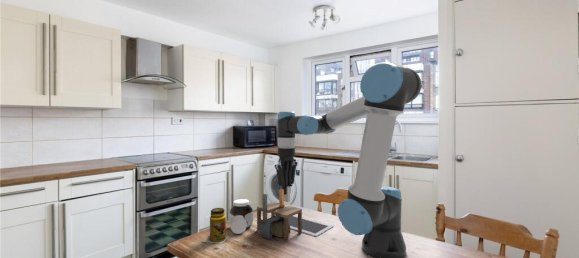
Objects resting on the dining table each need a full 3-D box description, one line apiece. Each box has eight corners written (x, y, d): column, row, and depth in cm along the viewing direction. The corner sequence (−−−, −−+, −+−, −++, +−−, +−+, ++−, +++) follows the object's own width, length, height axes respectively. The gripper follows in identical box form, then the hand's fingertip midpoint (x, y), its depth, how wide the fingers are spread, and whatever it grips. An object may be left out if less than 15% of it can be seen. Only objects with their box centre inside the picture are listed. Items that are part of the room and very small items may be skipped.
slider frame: (287, 230, 115) (287, 190, 114) (269, 239, 106) (269, 195, 106) (277, 226, 118) (277, 188, 118) (258, 235, 110) (258, 193, 109)
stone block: (282, 239, 108) (282, 227, 108) (261, 232, 115) (261, 220, 115) (291, 234, 112) (291, 222, 112) (270, 228, 119) (270, 216, 119)
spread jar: (248, 222, 126) (247, 197, 126) (259, 230, 117) (259, 203, 117) (223, 227, 120) (222, 201, 119) (233, 236, 110) (233, 208, 110)
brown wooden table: (301, 233, 114) (301, 208, 113) (286, 241, 106) (286, 215, 106) (273, 223, 124) (272, 201, 124) (257, 230, 116) (257, 207, 116)
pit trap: (333, 226, 120) (333, 225, 120) (316, 236, 110) (316, 235, 110) (288, 214, 137) (288, 213, 137) (269, 221, 126) (269, 221, 126)
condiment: (222, 243, 104) (222, 212, 104) (201, 242, 105) (201, 211, 105) (229, 235, 111) (229, 206, 111) (210, 234, 112) (209, 205, 112)
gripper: (289, 145, 125) (289, 196, 126) (269, 147, 115) (269, 203, 116) (302, 146, 120) (302, 199, 121) (282, 149, 110) (283, 206, 111)
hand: (286, 201), depth 118 cm, fingers closed
